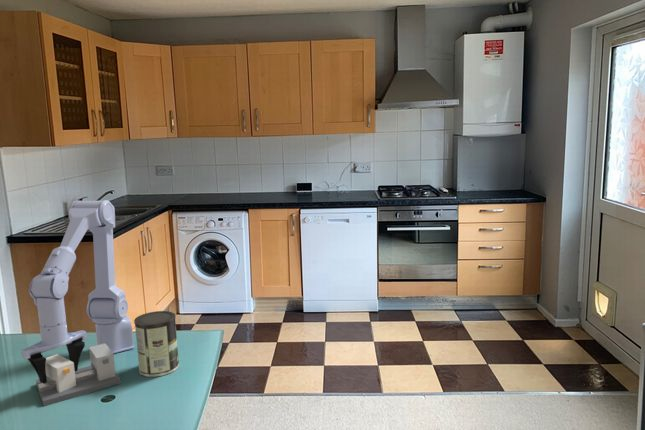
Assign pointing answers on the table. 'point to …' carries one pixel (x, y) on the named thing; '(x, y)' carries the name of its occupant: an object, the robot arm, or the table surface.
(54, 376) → the block
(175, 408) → the table surface
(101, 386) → the rail board
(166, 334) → the coffee can
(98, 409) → the table surface
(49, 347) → the robot arm
